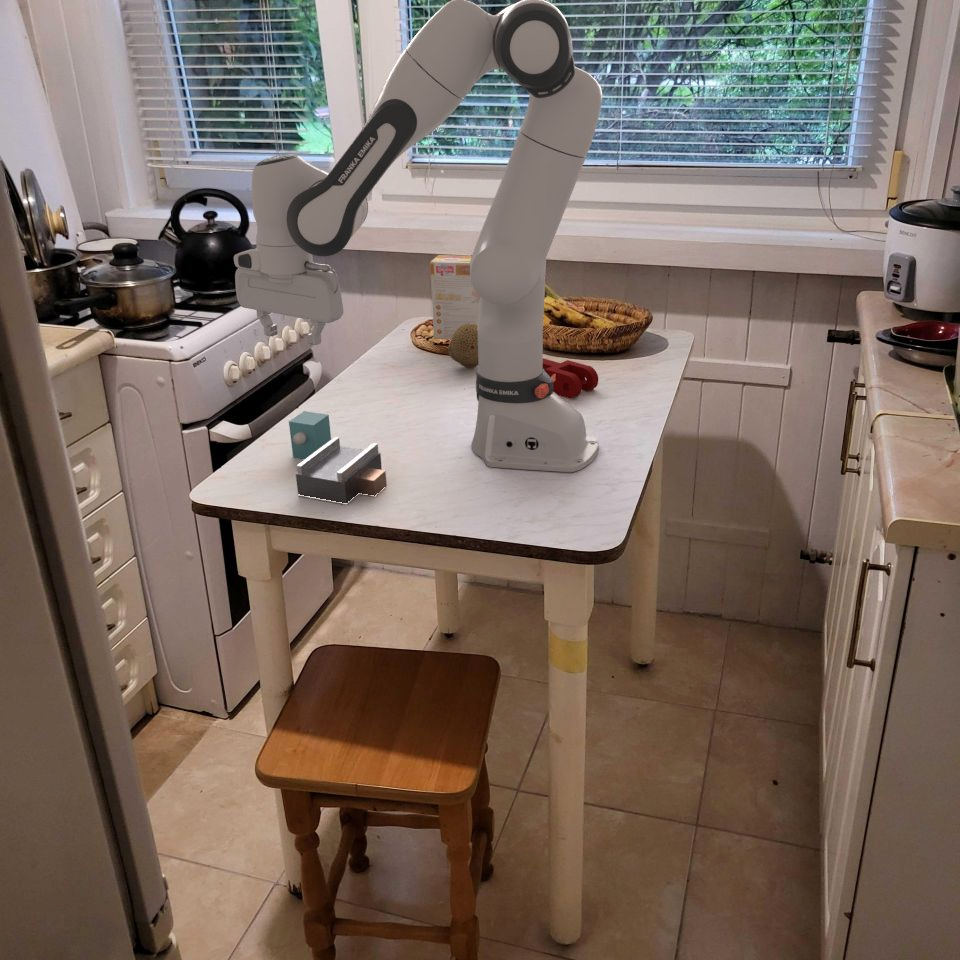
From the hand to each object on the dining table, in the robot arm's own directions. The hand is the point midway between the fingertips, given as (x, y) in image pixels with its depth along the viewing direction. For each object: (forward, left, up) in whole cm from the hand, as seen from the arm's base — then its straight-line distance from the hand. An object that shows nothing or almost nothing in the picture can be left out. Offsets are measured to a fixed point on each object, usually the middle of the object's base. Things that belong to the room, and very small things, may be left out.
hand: (292, 339), depth 166 cm
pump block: (-2, +1, -21) cm, 21 cm away
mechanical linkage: (-32, -45, -21) cm, 59 cm away
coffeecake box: (-3, -66, -21) cm, 69 cm away
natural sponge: (-11, -49, -21) cm, 54 cm away
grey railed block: (-15, +10, -21) cm, 27 cm away
